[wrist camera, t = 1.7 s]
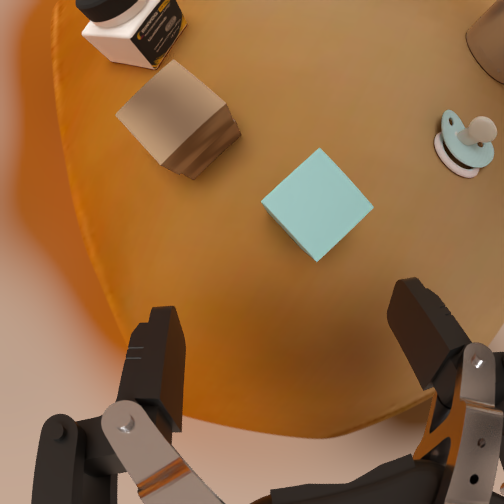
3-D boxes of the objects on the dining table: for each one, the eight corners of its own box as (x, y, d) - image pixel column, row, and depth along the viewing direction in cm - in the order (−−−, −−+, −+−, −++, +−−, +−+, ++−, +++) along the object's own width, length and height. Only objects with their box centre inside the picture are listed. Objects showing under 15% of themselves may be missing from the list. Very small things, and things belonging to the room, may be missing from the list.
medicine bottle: (156, 71, 26) (103, 8, 14) (110, 62, 26) (53, 12, 14) (188, 23, 25) (154, -46, 13) (141, 18, 25) (98, -40, 13)
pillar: (303, 177, 25) (319, 147, 15) (338, 214, 25) (373, 207, 15) (266, 211, 26) (260, 201, 16) (301, 249, 26) (316, 261, 16)
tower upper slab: (188, 81, 22) (173, 59, 18) (234, 122, 22) (226, 103, 18) (137, 129, 22) (115, 114, 18) (179, 174, 22) (160, 165, 18)
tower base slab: (200, 97, 26) (189, 79, 22) (241, 135, 26) (235, 120, 22) (155, 139, 26) (138, 127, 22) (193, 180, 26) (180, 172, 22)
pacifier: (474, 189, 24) (484, 144, 23) (509, 185, 18) (517, 133, 17) (423, 154, 24) (436, 108, 24) (454, 141, 18) (465, 88, 17)
